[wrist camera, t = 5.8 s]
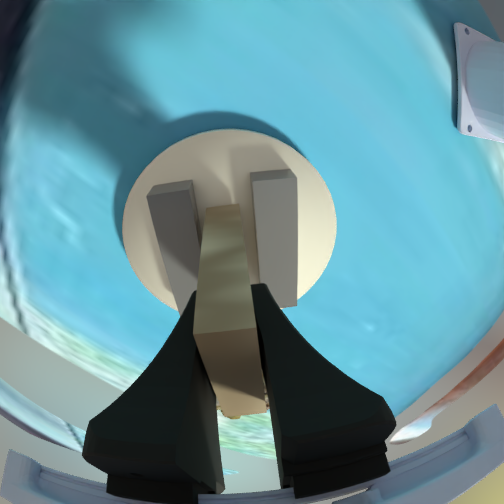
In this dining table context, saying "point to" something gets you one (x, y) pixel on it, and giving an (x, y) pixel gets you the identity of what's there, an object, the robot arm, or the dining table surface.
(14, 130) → the dining table surface
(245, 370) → the wooden block
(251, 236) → the clip base
